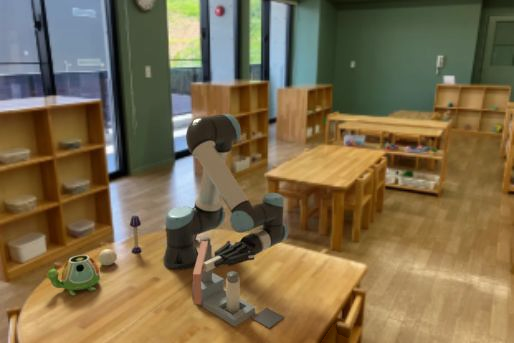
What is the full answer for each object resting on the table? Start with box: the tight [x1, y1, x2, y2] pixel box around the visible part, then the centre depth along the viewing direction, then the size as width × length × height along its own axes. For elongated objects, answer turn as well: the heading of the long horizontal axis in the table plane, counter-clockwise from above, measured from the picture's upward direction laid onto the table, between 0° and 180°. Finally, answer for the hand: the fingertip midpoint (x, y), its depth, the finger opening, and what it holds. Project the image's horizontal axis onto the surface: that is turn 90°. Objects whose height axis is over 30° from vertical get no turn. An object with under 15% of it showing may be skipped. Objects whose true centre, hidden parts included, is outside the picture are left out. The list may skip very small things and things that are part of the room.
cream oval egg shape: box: [98, 248, 118, 267], centre depth 176 cm, size 7×7×7 cm
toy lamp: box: [129, 215, 142, 254], centre depth 186 cm, size 5×5×17 cm
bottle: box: [225, 271, 241, 315], centre depth 144 cm, size 5×5×15 cm
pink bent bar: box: [192, 236, 212, 305], centre depth 139 cm, size 26×4×10 cm, turn 1°
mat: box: [250, 307, 285, 330], centre depth 143 cm, size 8×8×1 cm
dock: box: [191, 245, 256, 327], centre depth 146 cm, size 22×10×21 cm, turn 48°
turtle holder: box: [46, 254, 101, 296], centre depth 158 cm, size 12×18×12 cm
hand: (204, 267), depth 132 cm, fingers closed
